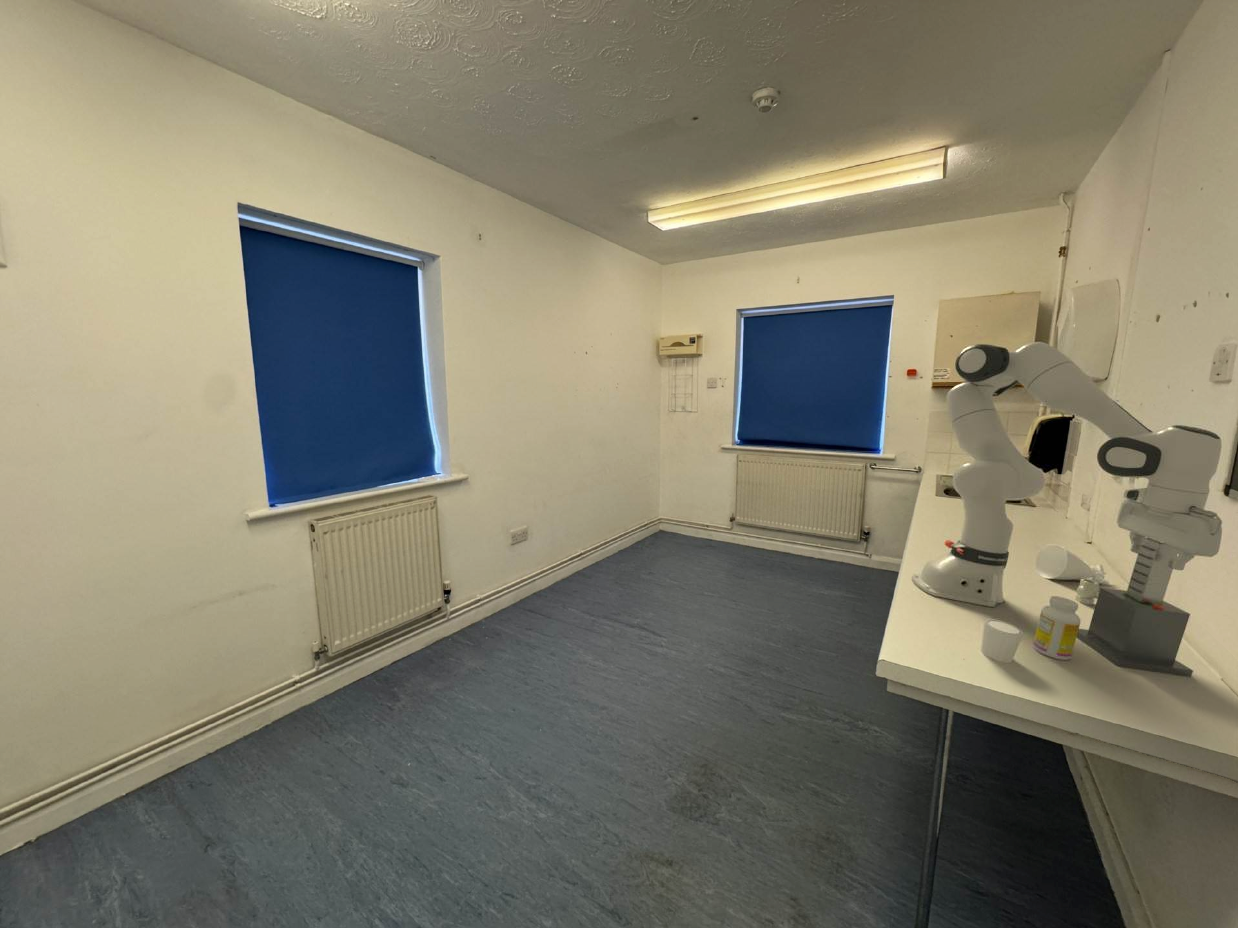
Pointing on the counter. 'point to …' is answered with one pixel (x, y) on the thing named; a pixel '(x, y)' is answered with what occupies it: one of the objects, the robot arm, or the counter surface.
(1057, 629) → the supplement bottle
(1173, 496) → the robot arm
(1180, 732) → the counter surface
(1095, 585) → the valve
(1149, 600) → the column
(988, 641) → the white cup
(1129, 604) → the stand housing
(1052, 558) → the rocket engine
